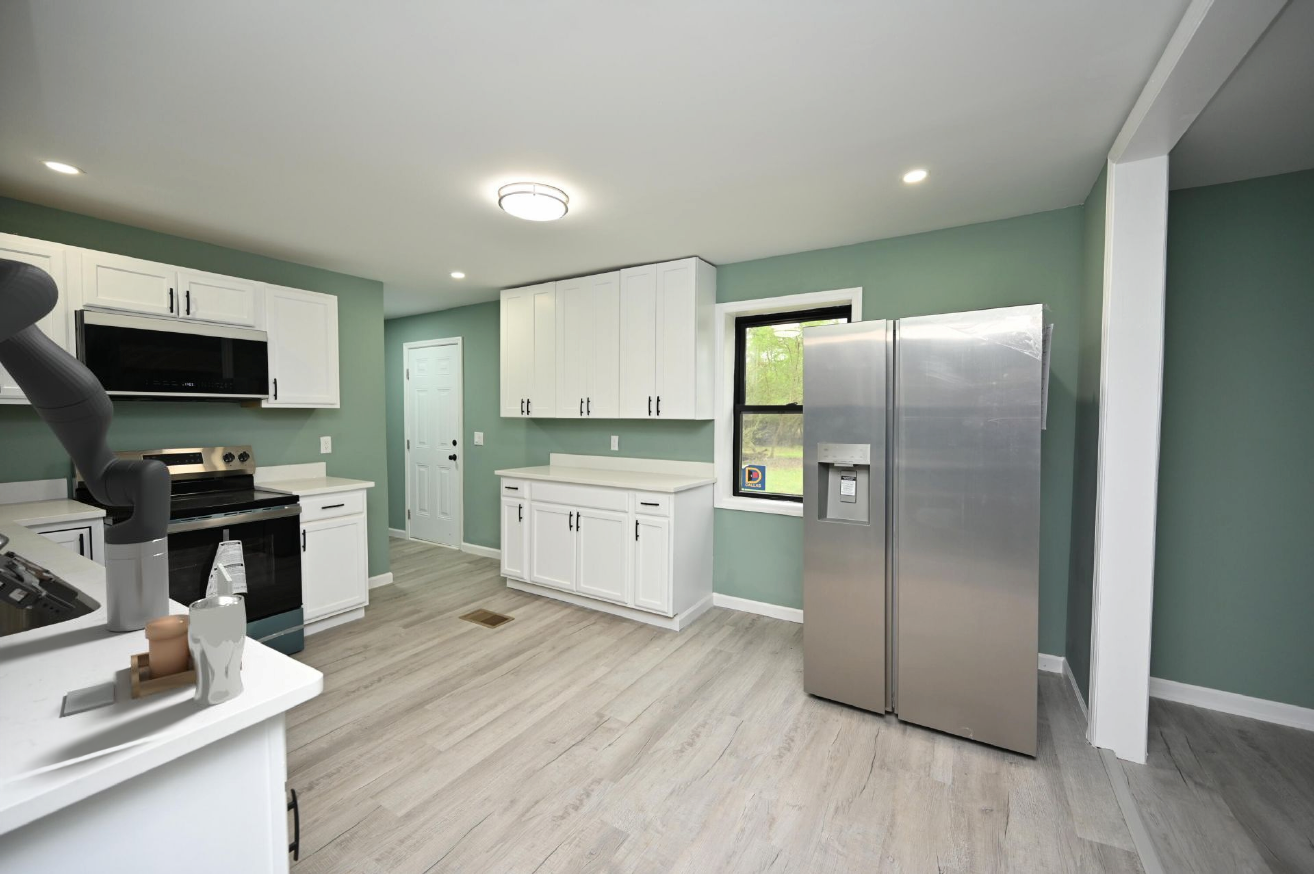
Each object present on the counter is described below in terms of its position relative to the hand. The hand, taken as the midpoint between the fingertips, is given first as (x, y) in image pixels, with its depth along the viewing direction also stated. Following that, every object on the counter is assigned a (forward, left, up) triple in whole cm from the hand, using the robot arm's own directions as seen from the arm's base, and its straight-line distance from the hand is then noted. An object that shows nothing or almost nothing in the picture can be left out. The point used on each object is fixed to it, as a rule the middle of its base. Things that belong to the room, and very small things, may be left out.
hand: (71, 606), depth 82 cm
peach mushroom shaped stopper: (0, +11, -14) cm, 18 cm away
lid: (-1, +18, -7) cm, 20 cm away
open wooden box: (-1, +13, -14) cm, 19 cm away
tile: (+2, +2, -14) cm, 15 cm away
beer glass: (+13, +16, -15) cm, 25 cm away
